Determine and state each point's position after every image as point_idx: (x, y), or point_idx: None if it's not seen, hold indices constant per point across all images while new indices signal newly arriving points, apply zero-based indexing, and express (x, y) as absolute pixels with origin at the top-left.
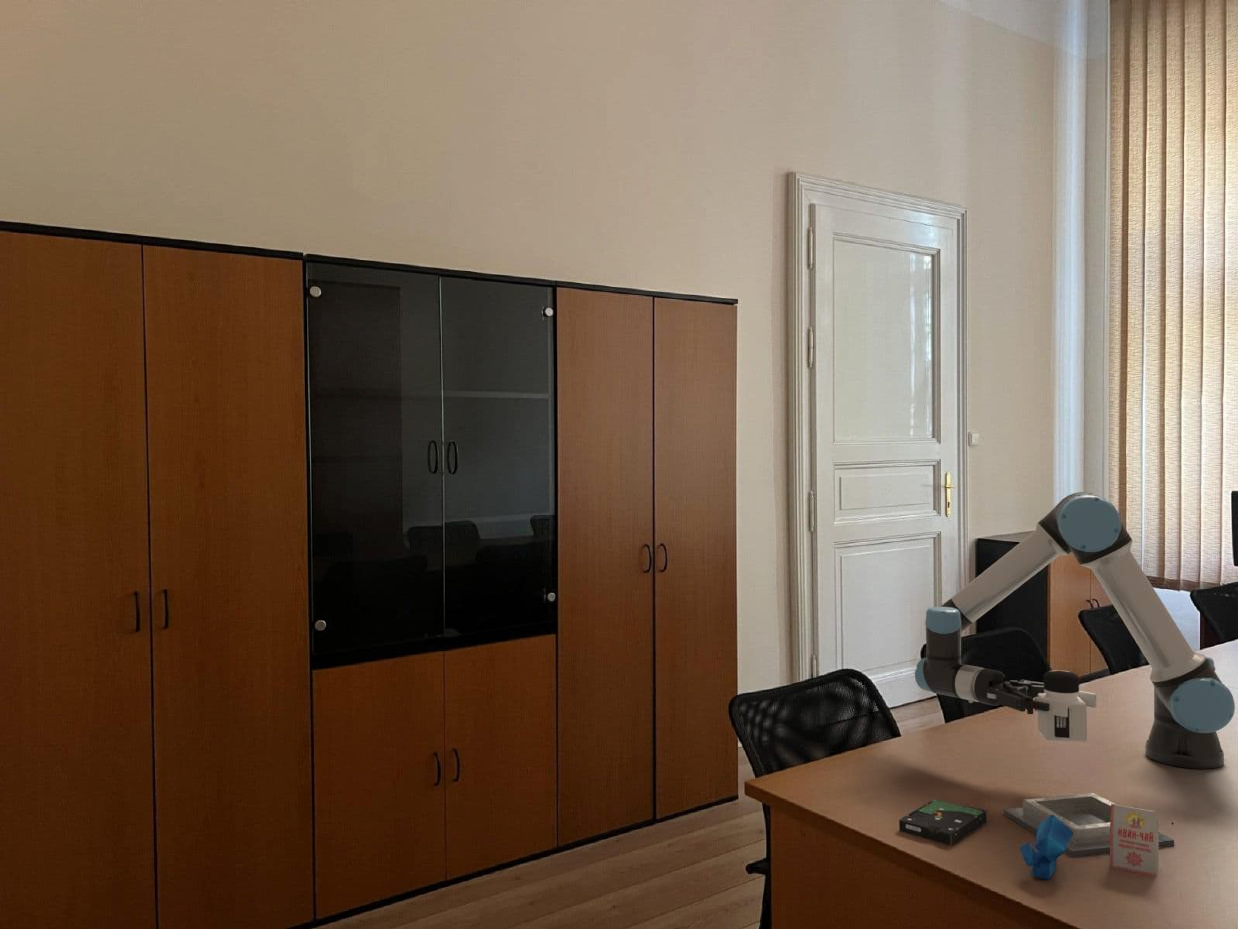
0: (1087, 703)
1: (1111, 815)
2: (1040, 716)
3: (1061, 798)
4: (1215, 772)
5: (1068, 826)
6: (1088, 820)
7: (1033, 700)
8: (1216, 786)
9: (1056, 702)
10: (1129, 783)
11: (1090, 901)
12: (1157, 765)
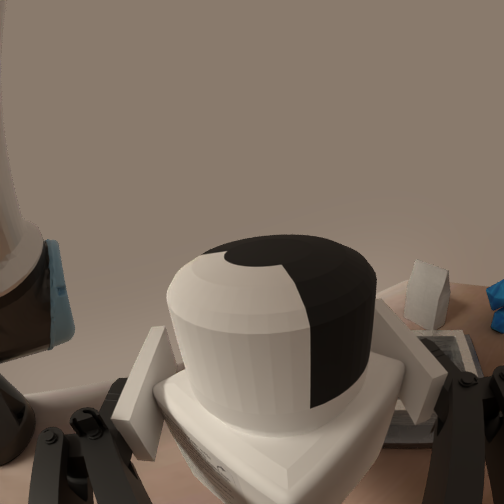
0: (170, 375)
1: (448, 279)
2: (338, 491)
3: None
4: (38, 401)
5: (464, 338)
6: None
7: (447, 386)
8: (92, 392)
9: (396, 316)
10: (149, 466)
11: (483, 297)
12: (33, 453)
